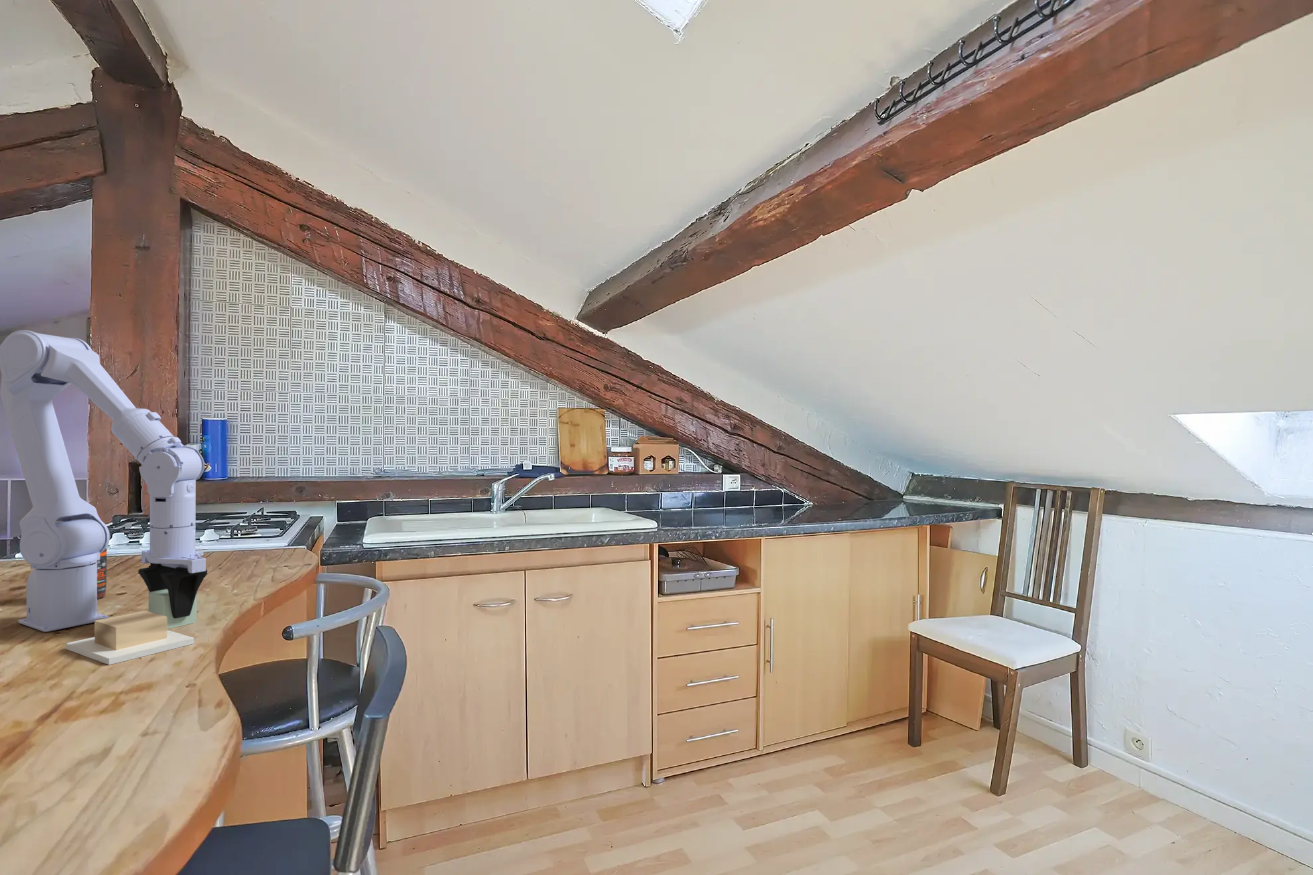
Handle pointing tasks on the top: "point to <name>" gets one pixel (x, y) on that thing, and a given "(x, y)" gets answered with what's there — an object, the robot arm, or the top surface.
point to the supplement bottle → (101, 574)
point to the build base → (130, 651)
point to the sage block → (169, 609)
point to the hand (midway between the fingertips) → (172, 614)
